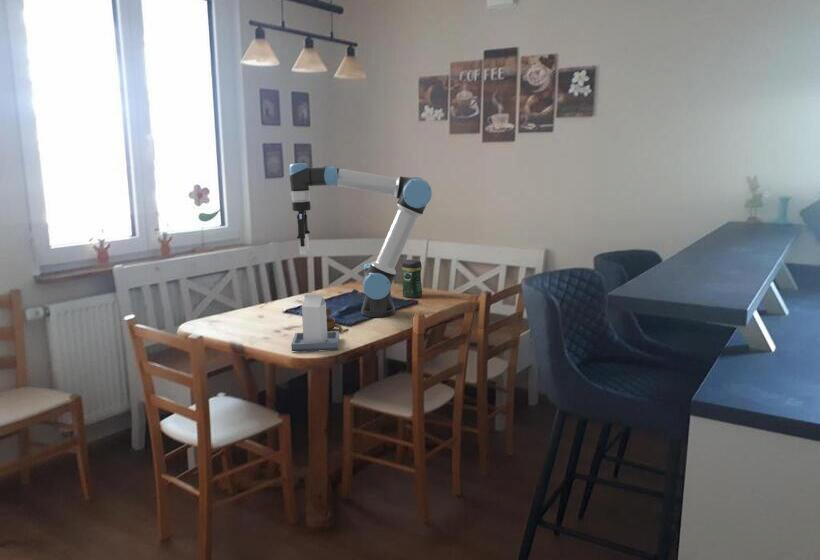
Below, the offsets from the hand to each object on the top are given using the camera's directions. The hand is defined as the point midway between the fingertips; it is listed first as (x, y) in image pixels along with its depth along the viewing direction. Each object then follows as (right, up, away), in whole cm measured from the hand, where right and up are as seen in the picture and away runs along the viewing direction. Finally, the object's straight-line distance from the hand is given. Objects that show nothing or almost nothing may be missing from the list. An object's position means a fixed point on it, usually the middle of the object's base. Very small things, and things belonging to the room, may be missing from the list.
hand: (304, 251), depth 273 cm
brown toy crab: (+12, -33, -1) cm, 35 cm away
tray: (+8, -37, -25) cm, 45 cm away
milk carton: (+8, -36, -25) cm, 45 cm away
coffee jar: (+46, -20, +52) cm, 72 cm away
